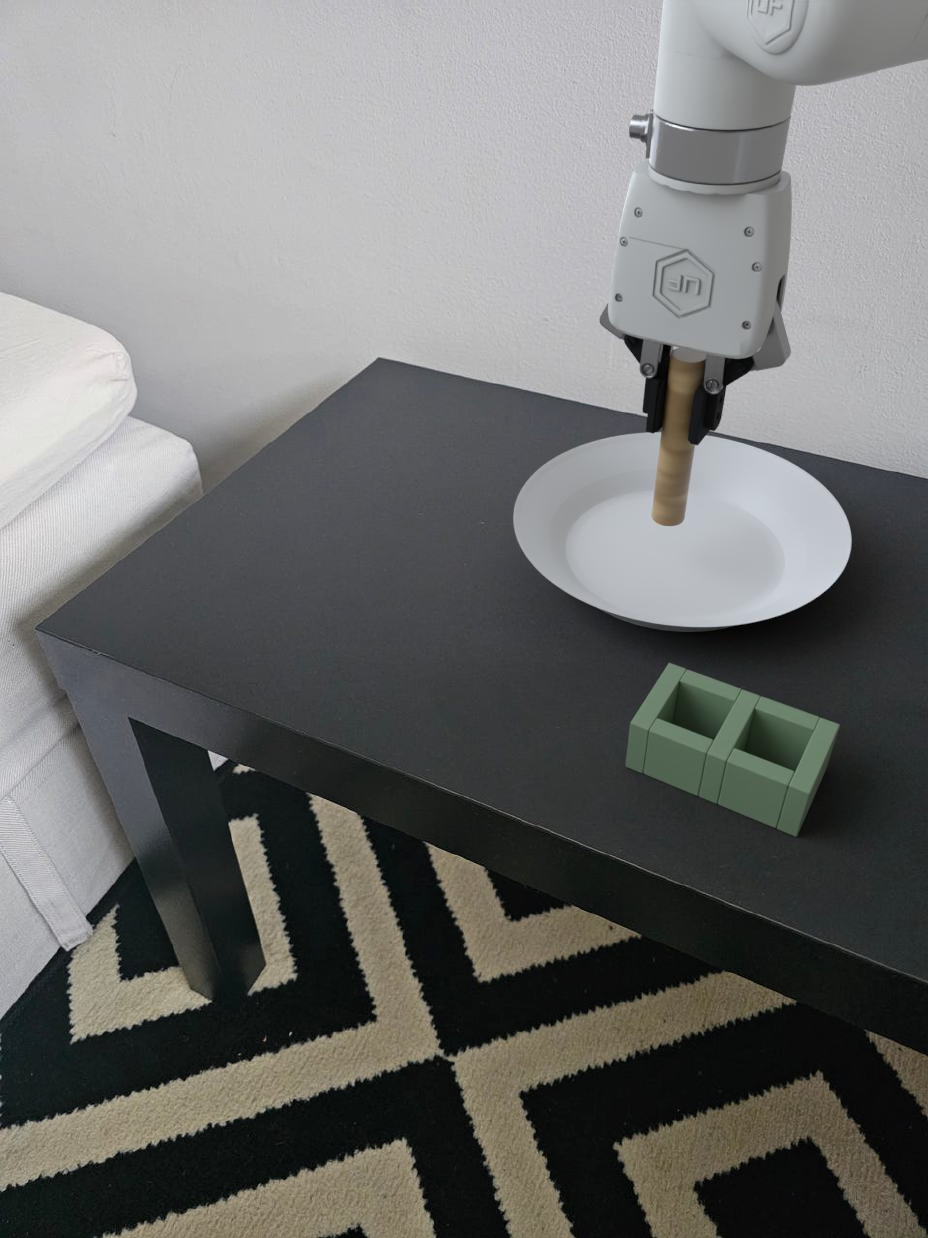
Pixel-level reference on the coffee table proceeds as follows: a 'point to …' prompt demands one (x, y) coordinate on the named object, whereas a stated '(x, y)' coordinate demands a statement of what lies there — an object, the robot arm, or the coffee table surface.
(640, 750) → the holder
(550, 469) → the white plate
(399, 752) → the coffee table surface
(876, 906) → the coffee table surface
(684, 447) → the stick
